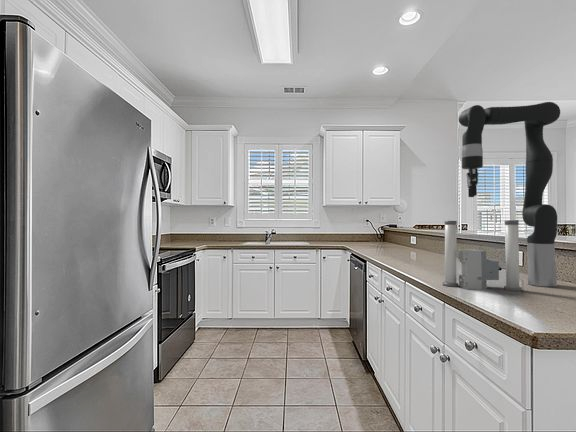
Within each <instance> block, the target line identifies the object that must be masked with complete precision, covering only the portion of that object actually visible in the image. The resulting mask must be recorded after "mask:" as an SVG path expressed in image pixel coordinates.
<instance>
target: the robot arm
mask: <svg viewBox="0 0 576 432" xmlns="http://www.w3.org/2000/svg"><path fill="white" fill-rule="evenodd" d="M560 116H561V109H560V106H559V105H558V104H557V103H556V102H553V101H546V102H541V103H537V104H529V105H518V106H517V105H515V106H490V107H486V108H484V107H483V106H482V105H480V104H475V105H472V106H471V107H468V108H467V109H464V110H462V112H461V113H460V114H459V115H458V123H459V124H460V125H461V126H462V127H466V130H465V131H464V132H463V133H462V143H461V144H462V145H461V147H462V149H461V168H462V170H467V171H468V172H466V185H467V188H468V189H467V190H468V192H467V193H468V198H475V196H477V194H478V191H477V187H478V183H479V172H478V171H479V169H482V168H483V167H484V161H483V160H484V158H483V157H484V155H483V154H484V153H483V151H484V150H483V145H482V144H483V135H482V134H483V131H484V127H485V126H487V125H490V126H493V125H494V126H495V125H499V126H500V125H507V124H508V125H509V124H513V123H522V122H524V132H525V150H526V151H525V182H524V183H525V185H524V186H525V188H524V189H525V190H524V199H523V207H522V211H521V212H522V213H521V214H522V216H521V217H522V220H523V222H524V224H526V226H527V227H528V226H529V227H533V231H532V233H531V234H530V235H528V236H527V237H526V245H527V246H526V249H527V250H526V254H527V257H526V258H527V284H528V285H531V286H535V287H536V286H537V287H558V282H557V281H558V280H557V277H558V276H557V262H556V253H555V250H556V249H555V248H556V247H555V241H556V238H557V235H558V213H557V210H556V208H555V207H554V206H553V205H550V204H547V203H546V204H543V195H544V191H545V189H546V187H547V185H548V183H549V181H550V180H551V177H552V175H553V166H554V165H553V164H554V160H553V159H554V158H553V154H552V151H551V150H550V149H549V147H548V146H547V144H546V142H545V141H544V127H545V126H548V125H550V124H553V123H554V122H556V121H558V120H559V118H560Z"/></svg>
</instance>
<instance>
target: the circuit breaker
mask: <svg viewBox="0 0 576 432" xmlns="http://www.w3.org/2000/svg"><path fill="white" fill-rule="evenodd" d="M457 254H458V255H457V257H458V261H459V263H460V273H458V283H459V286H458V287H461V288H462V289H463V290H466V289H467V290H487V287H488V286H487V285H488V284H487V281H500V273H499V271H502V269H503V268H502V267H500V265H499V260H497V259H492V258H487V251H486V250H482V249H458V253H457Z"/></svg>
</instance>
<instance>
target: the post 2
mask: <svg viewBox="0 0 576 432" xmlns="http://www.w3.org/2000/svg"><path fill="white" fill-rule="evenodd" d="M504 239H505V241H504V242H505V243H504V244H505V245H504V246H505V248H504V249H505V252H504V253H505V285H504V286H503V290H505V291H509V292H522V291H523V287H522V286H520V247H519V246H520V243H519V242H520V240H519V219H518V220H517V219H516V220H515V219H512V220H511V219H510V220H509V219H507V220H504Z"/></svg>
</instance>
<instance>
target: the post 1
mask: <svg viewBox="0 0 576 432" xmlns="http://www.w3.org/2000/svg"><path fill="white" fill-rule="evenodd" d="M457 225H458V221H457V220H444V281H443V282H442V286H445V287H450V288H451V287H455V288H456V287H460V286H459V282H457V228H458V227H457Z"/></svg>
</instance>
